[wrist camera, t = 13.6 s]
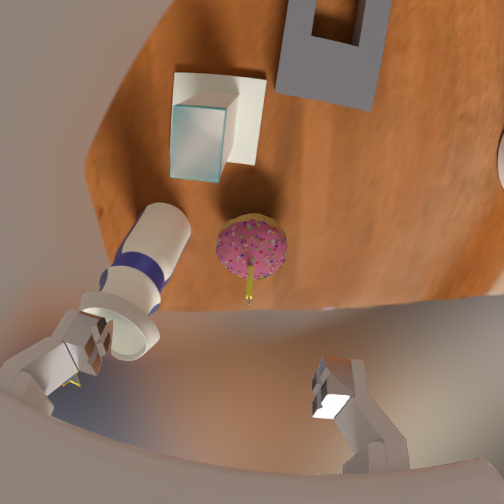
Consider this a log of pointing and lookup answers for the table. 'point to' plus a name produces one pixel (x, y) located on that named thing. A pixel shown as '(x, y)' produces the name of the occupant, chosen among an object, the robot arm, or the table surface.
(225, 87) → the mat
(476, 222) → the table surface
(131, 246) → the water bottle
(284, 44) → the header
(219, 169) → the plug
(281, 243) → the cupcake
